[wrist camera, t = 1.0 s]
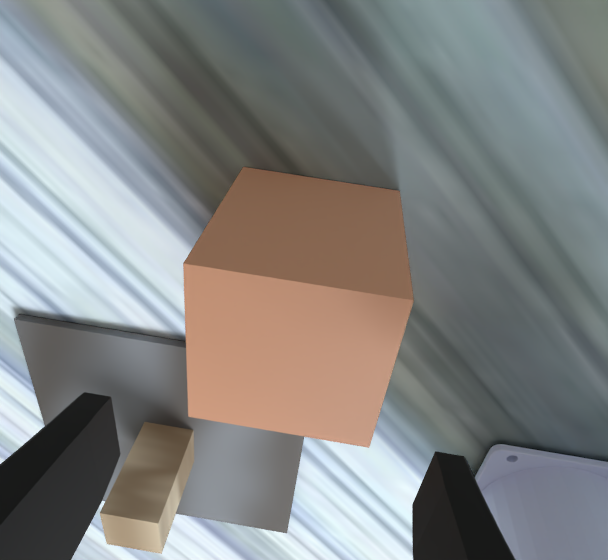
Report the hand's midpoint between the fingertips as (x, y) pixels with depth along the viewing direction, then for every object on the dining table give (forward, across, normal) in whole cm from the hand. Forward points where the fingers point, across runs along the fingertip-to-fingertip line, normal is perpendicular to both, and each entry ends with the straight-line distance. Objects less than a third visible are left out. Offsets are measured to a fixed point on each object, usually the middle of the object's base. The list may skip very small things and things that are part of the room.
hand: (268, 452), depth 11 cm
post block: (+9, +6, +13) cm, 17 cm away
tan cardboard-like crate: (+9, 0, 0) cm, 9 cm away
